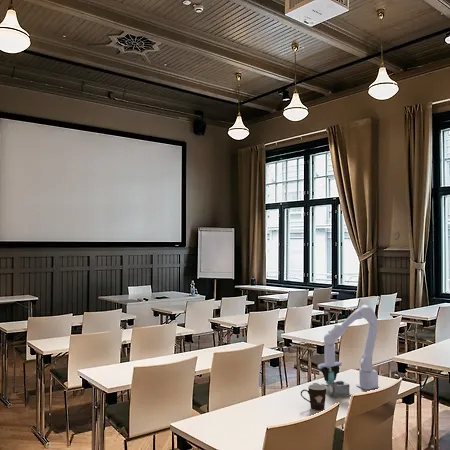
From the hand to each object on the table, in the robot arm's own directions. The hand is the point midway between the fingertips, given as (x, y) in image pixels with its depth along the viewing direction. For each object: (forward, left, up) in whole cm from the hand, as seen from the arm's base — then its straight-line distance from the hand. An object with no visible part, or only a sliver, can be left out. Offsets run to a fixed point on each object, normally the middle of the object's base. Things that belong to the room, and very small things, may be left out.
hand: (330, 380), depth 265 cm
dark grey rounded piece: (+8, -2, -3) cm, 9 cm away
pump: (0, 0, -2) cm, 2 cm away
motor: (+5, +11, -3) cm, 13 cm away
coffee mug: (+27, +26, -3) cm, 38 cm away
